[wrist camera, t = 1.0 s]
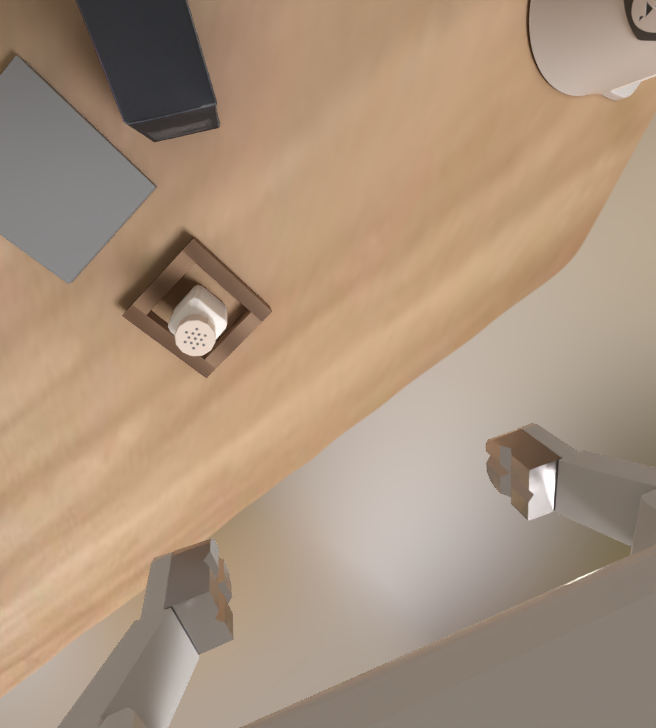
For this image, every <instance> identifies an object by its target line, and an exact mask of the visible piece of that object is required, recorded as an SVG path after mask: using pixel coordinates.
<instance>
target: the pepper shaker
mask: <svg viewBox="0 0 656 728" xmlns="http://www.w3.org/2000/svg"><path fill="white" fill-rule="evenodd" d="M226 326H227V307H226V306H225V304H224V303H222V302H221V301H220V300H219V299H218V298H216V297H215V296H214V295H213V294H212V293H210V292H209V291H208V290H207V289H205V288H204V287H203V286H201V285H196V286H194V287H193V288H192V289H191V290H190V291H189V292H188V294H187V295H186V296H185V297H184V298H183V299H182V300H181V301H180V303H179V304H178V305H177V306H176V307H175V309H174V312H173V314H172V316H171V319H170V321H169V324H168V328H169V330H170V332H171V333H172V334H174V336H175V342H176V345H177V346H178V348H179V349H180V350H181V351H182V352H183V353H185V354H188V355H190V356H203V355H204V354H206V353H208V352H209V351H211V350H212V348H213V346H214V344H215V341H216V339H217V338H218V337H219V336H220V335H221V333H222V332H223V331H224V330H225V329H226Z"/></svg>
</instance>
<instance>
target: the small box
mask: <svg viewBox="0 0 656 728" xmlns="http://www.w3.org/2000/svg"><path fill="white" fill-rule="evenodd" d="M76 2H77V4H78V7H79V9H80V12H81V14H82V17H83V19H84V22H85V25H86V27H87V30H88V32H89V35H90V37H91V40H92V42H93V45H94V47H95V50H96V52H97V55H98V57H99V60H100V62H101V65H102V68H103V70H104V73H105V75H106V78H107V80H108V83H109V85H110V88H111V91H112V93H113V96H114V98H115V101H116V103H117V106H118V108H119V111H120V113H121V116H122V118H123V121H124V123H125V124H127V125H129V126H131V127H132V128H134V129H135V130H137V131H138V132H140V133H141V134H143V135H144V136H146V137H148V138H149V139H150V140H152V141H153V142H157V141H161V140H166V139H172V138H175V137H180V136H184V135H189V134H194V133H198V132H202V131H207V130H211V129H216V128H219V126H220V122H219V118H218V115H217V109H216V106H217V101H216V98H215V94H214V91H213V87H212V84H211V80H210V77H209V73H208V70H207V66H206V63H205V60H204V56H203V53H202V49H201V46H200V42H199V39H198V35H197V32H196V29H195V26H194V22H193V18H192V15H191V12H190V8H189V5H188V2H187V0H76Z"/></svg>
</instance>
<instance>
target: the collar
mask: <svg viewBox="0 0 656 728" xmlns="http://www.w3.org/2000/svg"><path fill="white" fill-rule="evenodd" d="M195 263H197V264H198V265H199V266H200V267H201V268H202V269H203V270H204V271H205V272H207V273H208V274H209V275H210V276H211V277H212V278H213V279H214V280H216V281H217V282H218V283H219V284H220V285H221V286H222V287H223V288H225V289H226V290H227V291H228V292H229V293H230V294H231V295H232V296H233V297H235V298H236V299H237V300H238V301H239V302H240V303H241V304H242V305H244V306H245V307H246V308H247V309H248V310H247V311H246V312H245V313H244V314H243V315H242V316H241V317H240V318H239V319H238V320H237V321H236V322H235V323H234V324H233V325H232V326H231V327H230V328H229V329H228V330H227V331H226V332H225V333H224V334H223V335H222V336H221V337H220V338H219V339H218V340H217V341H216V343H215V344H214V346H213V348H212V350H211V351H209V352H208V353H206V354H204V355H203V356H190V355H188V354H185V353H183V352H182V351H181V350H180V349H179V348H178V346H177V345H176V342H175V336H174V334H172V333H171V332H170V330H169V328H168V323H167V322H165V321H164V320H163V319H161V318H160V317H159V316H157V315H156V314H155V313H154V312H152V311H151V310H152V308H153V307H154V306H155V305H156V304H157V303H158V302H159V301H160V300H161V299H162V298H163V297H164V296H165V295H166V293H167V292H168V291H169V290H170V289H171V288H172V287H173V286H174V285H175V284H176V283H177V282H178V281H179V280H180V279H181V277H182V276H183V275H184V274H185V273H186V272H187V271H188V270H189V269H190V268H191V267H192V266H193V265H194V264H195ZM271 312H272V310H271V308H270V306H269V305H268V304H267V303H266V302H264V301H263V300H262V299H261V298H260V297H259V296H258V295H257V294H256V293H255V292H254V291H253V290H252V289H250V288H249V287H248V286H247V285H246V284H245V283H244V282H243V281H242V280H241V279H240V278H239V277H237V276H236V275H235V274H234V273H233V272H232V271H231V270H230V269H229V268H228V267H227V266H226V265H225V264H223V263H222V262H221V261H220V260H219V259H218V258H217V257H216V256H215V255H214V254H213V253H212V252H211V251H209V250H208V249H207V248H206V247H205V246H204V245H203V244H202V243H201V242H200V241H199V240H198V239H197V238H195V237H194V238H193V239H192V240H191V241H190V242H189V244H188V245H187V246H186V247H185V248H184V249H183V250H182V251H181V252H180V253H179V254H178V255H177V256H176V258H175V259H174V260H173V261H172V262H171V263H170V264H169V265H168V266H167V267H166V268H165V269H164V271H163V272H162V273H161V274H160V275H159V276H158V277H157V278H156V279H155V280H154V281H153V282H152V283H151V285H150V286H149V287H148V288H147V289H146V290H145V291H144V292H143V293H142V294H141V295H140V296H139V298H138V299H137V300H136V301H135V302H134V303H133V304H132V305H131V306H130V307H129V308H128V309H127V311H126V312H125V313H124V314H123V315H122V316H123V317H124V318H126V319H127V320H128V321H130V322H131V323H132V324H134V325H135V326H137V327H138V328H139V329H141V330H142V331H143V332H145V333H146V334H147V335H149V336H150V337H151V338H153V339H154V340H155V341H157V342H158V343H160V344H161V345H162V346H164V347H165V348H166V349H168V350H169V351H170V352H172V353H173V354H174V355H176V356H177V357H178V358H180V359H181V360H183V361H184V362H185V363H187V364H188V365H189V366H191V367H192V368H193V369H195V370H196V371H197V372H199V373H200V374H201V375H203V376H204V377H206V378H207V377H208V376H209V375H210V374H211V373H212V372H213V371H214V370H215V369H216V368H217V367H218V366H219V365H220V364H221V363H222V362H223V361H224V360H225V359H226V358H227V357H228V356H229V355H230V354H231V353H232V352H233V351H234V350H235V349H236V348H237V347H238V346H239V345H240V344H241V343H242V342H243V341H244V340H245V339H246V338H247V337H248V336H249V335H250V333H251V332H252V331H253V330H254V329H255V328H256V327H257V326H258V325H259V324H260V323H261V322H262V321H263V320H264V319H265V318H266V317H267V316H268V315H269V314H270V313H271Z"/></svg>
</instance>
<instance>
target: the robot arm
mask: <svg viewBox="0 0 656 728" xmlns="http://www.w3.org/2000/svg"><path fill="white" fill-rule="evenodd" d="M529 31H530V40H531V46H532V51H533V54H534V58H535V60H536V63H537V65H538V67H539V70H540V71H541V73H542V75H543V76H544V78H545V79H546V80H547V81H548V82H549V83H550V84H551V85H552V86H553V87H554V88H555V89H557V90H558V91H560V92H562V93H565V94H568V95H572V96H585V95H591V94H601V95H603V96H605V97H607V98H609V99H612V100H621V99H623V98H626V97H628V96H630V95H631V94H632V93H633V92H634V91H635V89H636V88H637V87H638V85H639V84H640V83H641V82H642V81H643V80H646V79H649V78H651V77H654V76H656V0H531V3H530V13H529ZM486 452H488V453H489V454H490V455H491V456H490V457H489V459H488V461H487V463H486V465H487V473H488V476H489V478H490V481H491V482H492V484H493V485H494V487H495V488H496V489H497V490H498V491H499V492H500V493H501V494H504V495H507V496H510V497H511V504H512V505H513V506H514V507H515V508H516V509H517V510H518V511H519V512H520V513H521V514H522V515H523V516H524V517H525V518H526V519H527V520H528V521H529V520H531V519H534V518H537V517H539V516H542V515H545V514H548V513H550V512H553V511H555V513H557V514H560V515H562V516H564V517H566V518H569V519H571V520H573V521H575V522H578V523H580V524H582V525H584V526H587V527H589V528H591V529H593V530H595V531H598V532H600V533H602V534H605V535H607V536H609V537H612V538H613V539H616V540H618V541H620V542H622V543H625V544H627V545H629V546H631V547H632V548H631V553H630V555H629V556H627V557H625V558H623V559H621V560H618V561H616V562H614V563H611V564H609V565H607V566H605V567H602V568H600V569H598V570H595V571H593V572H591V573H589V574H587V575H584V576H582V577H580V578H577V579H575V580H573V581H571V582H569V583H566V584H564V585H561V586H559V587H557V588H555V589H552V590H550V591H548V592H546V593H543V594H541V595H539V596H537V597H534V598H532V599H530V600H528V601H526V602H523V603H521V604H519V605H516V606H514V607H512V608H510V609H507V610H505V611H503V612H501V613H498V614H496V615H494V616H491V617H489V618H487V619H485V620H483V621H480V622H478V623H476V624H473V625H471V626H469V627H467V628H465V629H462V630H460V631H458V632H455V633H453V634H451V635H449V636H446V637H444V638H442V639H439V640H437V641H435V642H433V643H431V644H428V645H426V646H424V647H422V648H419V649H417V650H415V651H412V652H410V653H408V654H405V655H403V656H401V657H399V658H396V659H394V660H392V661H390V662H387V663H385V664H383V665H381V666H378V667H376V668H374V669H371V670H369V671H367V672H365V673H362V674H360V675H358V676H356V677H353V678H351V679H349V680H347V681H344V682H342V683H340V684H338V685H335V686H333V687H331V688H328V689H326V690H324V691H322V692H319V693H317V694H315V695H313V696H310V697H308V698H306V699H304V700H301V701H300V702H297V703H294V704H292V705H290V706H288V707H285V708H283V709H281V710H279V711H276V712H274V713H272V714H270V715H268V716H265V717H263V718H261V719H258V720H256V721H254V722H252V723H249V724H247V725H245V726H242V727H240V728H656V467H652V466H648V465H643V464H639V463H635V462H630V461H626V460H622V459H618V458H613V457H609V456H604V455H600V454H596V453H592V452H587V451H582V452H578V451H577V450H575V449H574V448H572V447H570V446H569V445H568V444H566V443H564V442H563V441H561V440H560V439H559V438H557V437H556V436H554V435H553V434H551V433H550V432H548V431H547V430H545V429H543V428H542V427H541V426H539V425H537V424H534V423H531V424H529V425H526V426H523V427H521V428H518V429H517V430H513V431H510V432H508V433H505V434H502V435H499V436H497V437H494V438H491V439H488V441H487V443H486ZM231 598H232V589H231V582H230V576H229V572H228V569H227V566H226V563H225V561H224V560H223V559H221V558H219V548H218V546H217V544H216V542H215V540H214V539H209V540H206V541H203V542H200V543H197V544H194V545H191V546H188V547H185V548H182V549H179V550H176V551H174V552H172V553H168V554H165V555H162V556H159V557H156V558H154V560H153V561H152V563H151V566H150V572H149V577H148V582H147V587H146V593H145V598H144V604H143V609H142V615H141V619H139V620H137V621H134V623H133V624H132V625H131V627H130V628H129V630H128V631H127V632H126V634H125V635H124V637H123V638H122V639H121V641H120V642H119V643H118V645H117V646H116V647H115V649H114V650H113V652H112V653H111V654H110V656H109V657H108V658H107V660H106V662H105V663H104V664H103V665H102V667H101V668H100V670H99V671H98V672H97V674H96V675H95V677H94V678H93V679H92V681H91V682H90V684H89V685H88V686H87V688H86V689H85V690H84V692H83V693H82V694H81V696H80V697H79V699H78V700H77V701H76V703H75V704H74V706H73V707H72V709H71V710H70V711H69V712H68V714H67V715H66V717H65V718H64V719H63V721H62V722H61V724H60V725H59V726H58V728H168V726H169V724H170V722H171V720H172V717H173V715H174V713H175V711H176V709H177V706H178V704H179V702H180V700H181V697H182V695H183V693H184V691H185V688H186V686H187V684H188V681H189V679H190V677H191V675H192V672H193V670H194V668H195V666H196V664H197V661H198V659H199V654H201V653H204V652H206V651H208V650H211V649H213V648H215V647H218V646H220V645H222V644H224V643H226V642H229V641H231V640H233V614H232V611H231V609H230V607H229V605H228V603H229V601H230V600H231Z"/></svg>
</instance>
